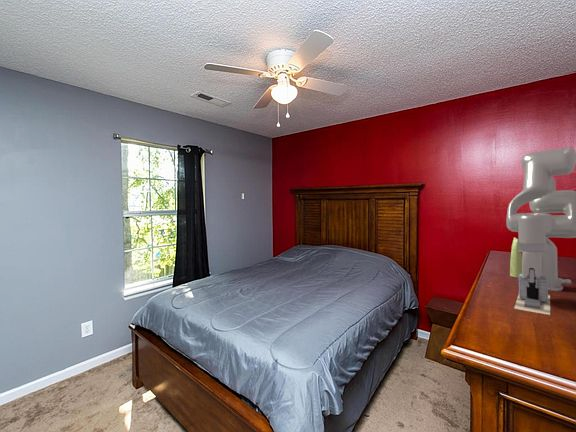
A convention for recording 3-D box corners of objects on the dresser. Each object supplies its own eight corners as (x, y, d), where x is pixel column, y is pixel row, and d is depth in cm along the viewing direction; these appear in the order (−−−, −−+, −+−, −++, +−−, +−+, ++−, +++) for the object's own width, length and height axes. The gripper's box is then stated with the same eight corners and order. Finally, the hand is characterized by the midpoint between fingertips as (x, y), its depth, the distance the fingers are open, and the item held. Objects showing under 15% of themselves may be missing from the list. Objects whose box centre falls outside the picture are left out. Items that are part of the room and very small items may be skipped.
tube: (526, 277, 135) (525, 238, 134) (518, 278, 133) (517, 239, 133) (514, 275, 140) (514, 237, 140) (507, 276, 139) (506, 237, 138)
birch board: (519, 294, 112) (519, 291, 112) (550, 299, 105) (550, 295, 105) (514, 312, 94) (514, 308, 94) (550, 319, 88) (550, 314, 88)
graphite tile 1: (524, 303, 98) (524, 300, 98) (540, 305, 96) (540, 303, 95) (524, 306, 95) (524, 303, 95) (539, 309, 93) (539, 306, 93)
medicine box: (548, 299, 100) (547, 276, 100) (548, 303, 97) (547, 278, 97) (519, 295, 106) (519, 273, 106) (519, 298, 103) (518, 275, 102)
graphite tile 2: (525, 300, 101) (525, 297, 101) (540, 302, 99) (540, 299, 98) (525, 303, 98) (525, 300, 98) (540, 305, 96) (540, 302, 96)
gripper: (520, 244, 110) (521, 289, 110) (516, 250, 97) (518, 300, 98) (546, 245, 104) (547, 292, 105) (545, 251, 92) (546, 305, 93)
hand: (533, 296), depth 101 cm, fingers closed on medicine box, 4 cm apart
